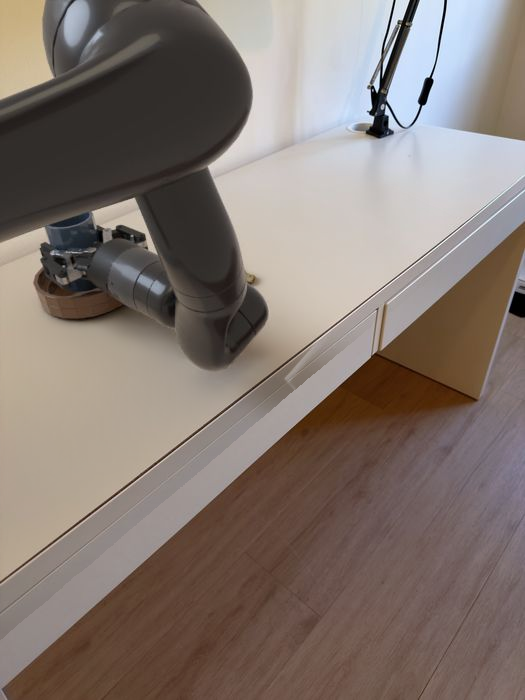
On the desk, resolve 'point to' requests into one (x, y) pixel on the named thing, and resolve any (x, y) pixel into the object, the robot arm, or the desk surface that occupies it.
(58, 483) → the desk surface
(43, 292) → the bowl
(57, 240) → the cup
